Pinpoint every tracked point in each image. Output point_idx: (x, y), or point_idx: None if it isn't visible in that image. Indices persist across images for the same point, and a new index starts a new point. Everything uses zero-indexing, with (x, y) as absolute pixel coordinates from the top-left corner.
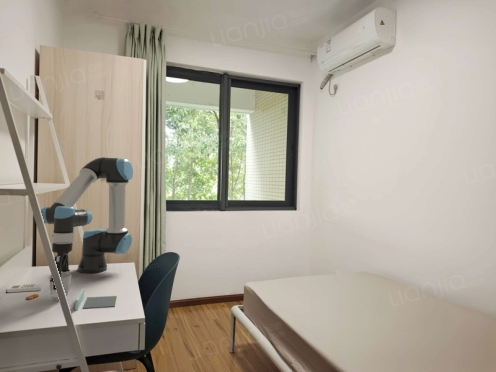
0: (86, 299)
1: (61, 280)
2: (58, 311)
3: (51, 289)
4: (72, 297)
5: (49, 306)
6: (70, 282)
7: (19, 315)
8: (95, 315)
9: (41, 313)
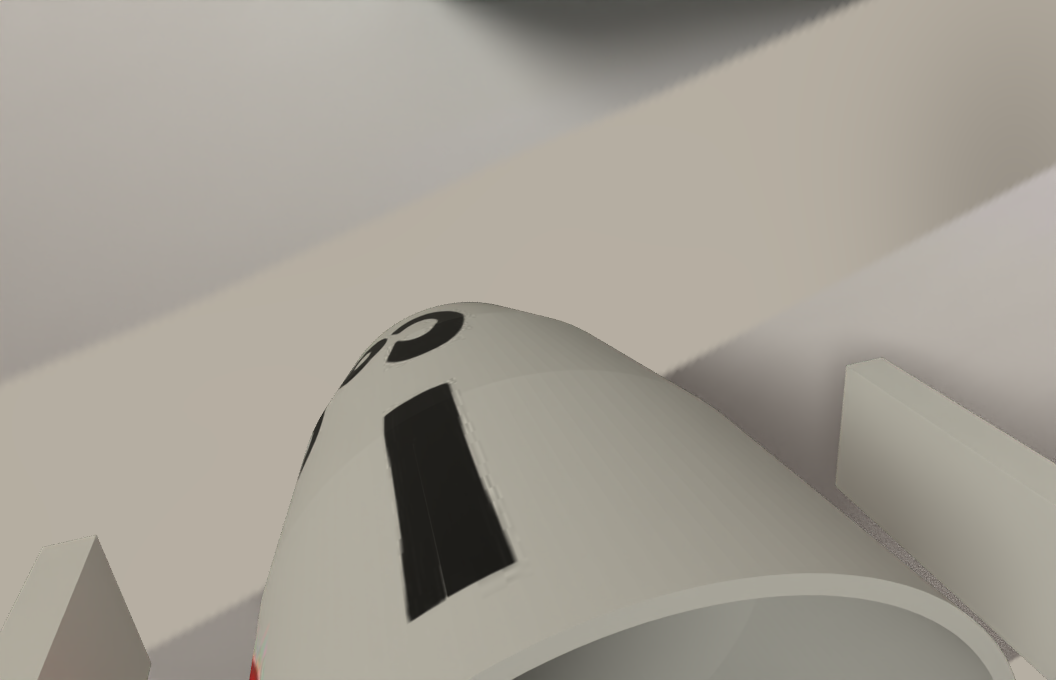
0: None
1: (947, 650)
2: (1037, 183)
3: (679, 651)
4: (369, 198)
5: (801, 403)
6: (537, 415)
7: None
8: None
9: (1027, 381)
